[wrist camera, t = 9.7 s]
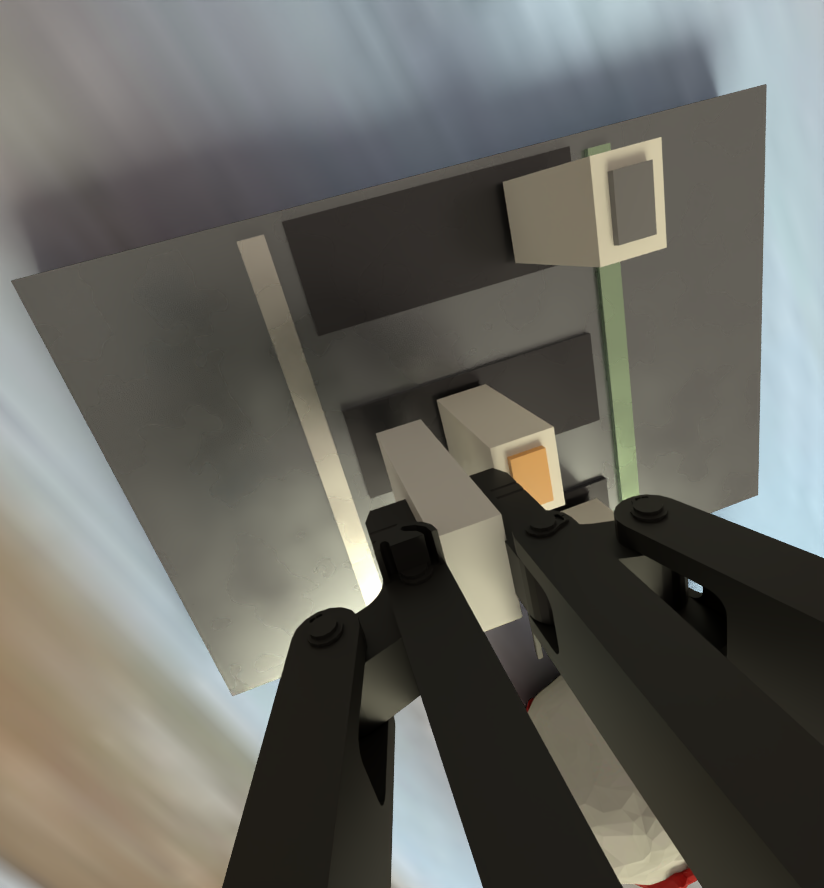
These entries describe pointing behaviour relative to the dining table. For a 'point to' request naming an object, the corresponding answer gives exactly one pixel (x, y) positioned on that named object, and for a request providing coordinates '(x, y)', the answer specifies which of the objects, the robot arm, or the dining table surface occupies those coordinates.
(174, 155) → the dining table surface
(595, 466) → the panel
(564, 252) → the breaker near
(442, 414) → the breaker mid
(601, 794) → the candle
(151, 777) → the dining table surface
